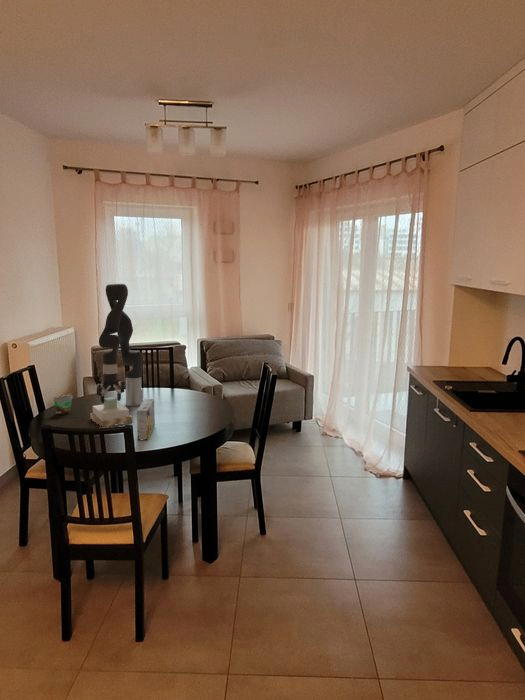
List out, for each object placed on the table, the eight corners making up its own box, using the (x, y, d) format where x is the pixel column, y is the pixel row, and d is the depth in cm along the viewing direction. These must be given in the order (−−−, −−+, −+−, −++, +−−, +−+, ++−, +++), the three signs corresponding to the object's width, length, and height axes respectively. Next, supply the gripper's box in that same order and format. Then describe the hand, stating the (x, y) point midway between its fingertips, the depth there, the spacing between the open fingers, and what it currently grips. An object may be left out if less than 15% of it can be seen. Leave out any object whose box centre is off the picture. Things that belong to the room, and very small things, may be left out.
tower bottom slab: (119, 415, 254) (119, 408, 254) (132, 423, 241) (132, 416, 240) (90, 420, 244) (90, 413, 244) (102, 429, 231) (102, 421, 230)
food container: (64, 416, 247) (63, 398, 246) (54, 415, 249) (53, 397, 247) (77, 410, 259) (77, 393, 258) (68, 409, 261) (67, 392, 259)
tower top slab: (118, 409, 252) (118, 402, 252) (128, 416, 240) (128, 409, 239) (92, 413, 244) (92, 405, 243) (102, 420, 231) (101, 413, 231)
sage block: (112, 405, 245) (112, 396, 244) (116, 407, 241) (116, 398, 240) (103, 407, 241) (103, 398, 240) (107, 409, 238) (107, 400, 237)
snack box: (144, 426, 235) (144, 398, 233) (155, 426, 236) (155, 398, 234) (136, 440, 215) (136, 410, 212) (148, 440, 215) (148, 410, 213)
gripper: (120, 369, 246) (120, 398, 248) (94, 372, 237) (95, 402, 239) (126, 371, 240) (126, 401, 242) (99, 374, 231) (100, 405, 233)
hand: (110, 401), depth 241 cm, fingers open, 8 cm apart
